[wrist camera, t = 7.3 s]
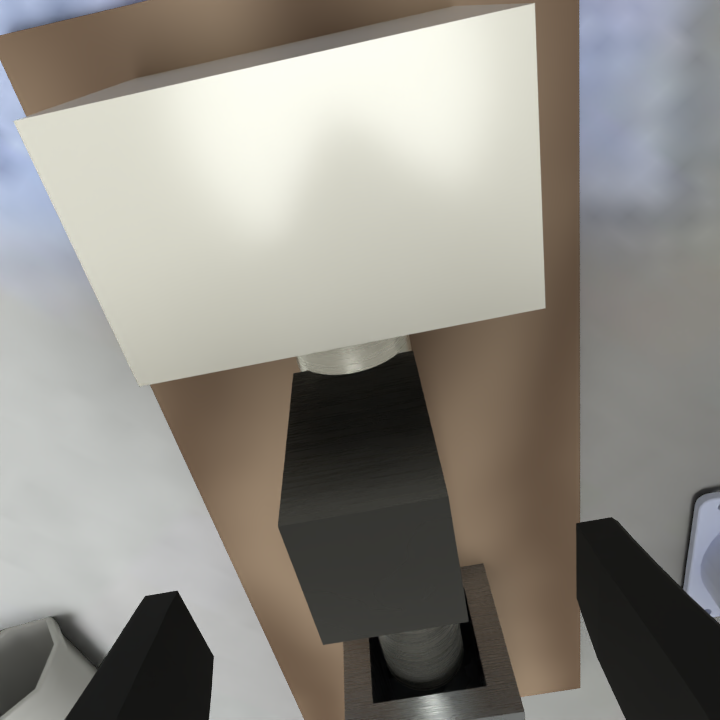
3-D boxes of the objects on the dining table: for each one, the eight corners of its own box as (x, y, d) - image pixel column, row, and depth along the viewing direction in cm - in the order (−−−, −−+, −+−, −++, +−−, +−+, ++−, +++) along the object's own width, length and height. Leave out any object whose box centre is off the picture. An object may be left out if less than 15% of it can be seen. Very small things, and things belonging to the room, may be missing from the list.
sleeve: (483, 563, 24) (524, 711, 19) (499, 683, 29) (535, 829, 24) (342, 586, 25) (345, 738, 20) (379, 702, 29) (390, 849, 24)
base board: (563, -95, 14) (579, -102, 13) (573, 668, 30) (580, 687, 29) (9, 36, 15) (-10, 37, 14) (309, 709, 31) (309, 729, 30)
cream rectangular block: (453, 5, 14) (534, 2, 8) (473, 208, 17) (545, 308, 11) (135, 78, 15) (12, 121, 9) (201, 263, 17) (138, 386, 12)
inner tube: (371, 106, 14) (408, 193, 7) (457, 607, 24) (506, 836, 17) (240, 135, 14) (161, 243, 8) (379, 620, 24) (398, 851, 17)
